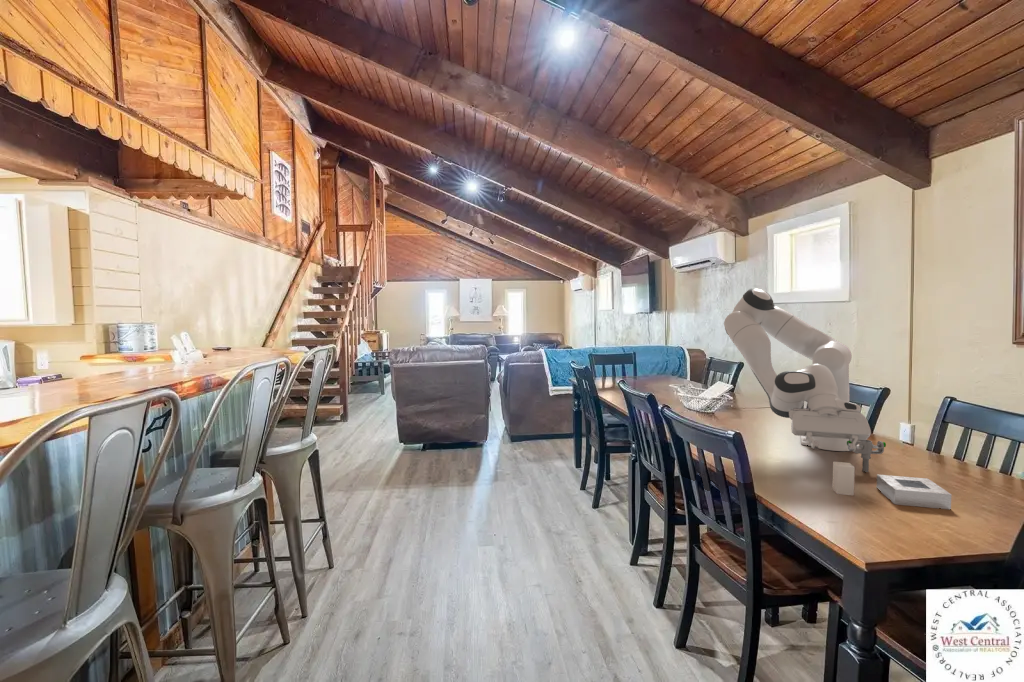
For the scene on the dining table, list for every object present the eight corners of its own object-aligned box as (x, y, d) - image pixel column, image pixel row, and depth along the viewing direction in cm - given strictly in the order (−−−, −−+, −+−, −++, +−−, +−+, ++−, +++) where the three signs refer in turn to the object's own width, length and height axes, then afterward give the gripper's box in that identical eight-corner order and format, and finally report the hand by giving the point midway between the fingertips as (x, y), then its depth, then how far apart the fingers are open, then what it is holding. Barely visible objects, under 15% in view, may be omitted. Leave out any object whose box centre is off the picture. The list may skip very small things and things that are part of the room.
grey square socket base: (876, 488, 138) (876, 474, 137) (927, 492, 134) (928, 478, 134) (894, 504, 126) (895, 489, 126) (950, 509, 122) (951, 494, 122)
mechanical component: (886, 474, 149) (887, 442, 148) (849, 472, 151) (850, 441, 150) (880, 471, 152) (881, 440, 151) (844, 469, 154) (845, 439, 153)
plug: (832, 488, 138) (833, 461, 137) (848, 490, 137) (849, 462, 136) (836, 493, 134) (837, 465, 134) (853, 495, 133) (854, 467, 132)
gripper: (789, 402, 151) (795, 440, 142) (866, 405, 144) (877, 446, 136) (786, 413, 155) (791, 451, 147) (860, 417, 149) (871, 457, 140)
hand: (833, 449), depth 141 cm, fingers open, 8 cm apart
